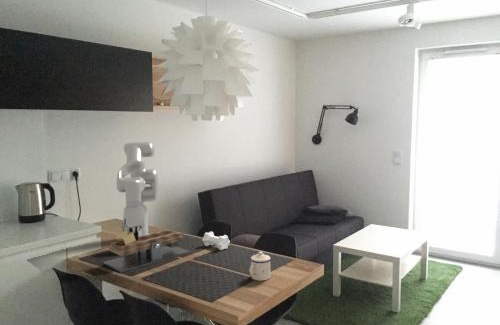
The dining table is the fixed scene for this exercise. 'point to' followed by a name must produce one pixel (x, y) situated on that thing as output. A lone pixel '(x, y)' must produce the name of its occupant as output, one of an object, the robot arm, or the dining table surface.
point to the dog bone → (216, 240)
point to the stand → (146, 257)
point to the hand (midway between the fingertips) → (135, 239)
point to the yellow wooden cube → (126, 238)
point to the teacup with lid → (260, 267)
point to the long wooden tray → (148, 242)
